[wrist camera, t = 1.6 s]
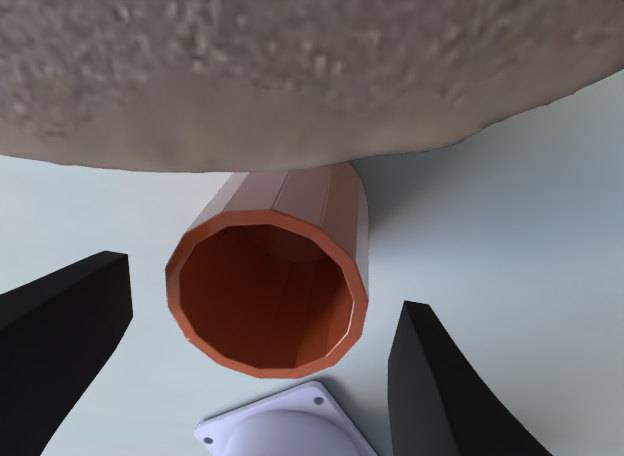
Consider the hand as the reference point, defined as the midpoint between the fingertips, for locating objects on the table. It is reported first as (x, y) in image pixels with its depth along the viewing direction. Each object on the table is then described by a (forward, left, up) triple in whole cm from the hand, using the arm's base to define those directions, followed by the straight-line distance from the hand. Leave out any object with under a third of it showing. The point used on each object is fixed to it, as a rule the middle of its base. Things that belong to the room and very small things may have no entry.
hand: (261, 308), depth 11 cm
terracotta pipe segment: (0, 0, -7) cm, 7 cm away
